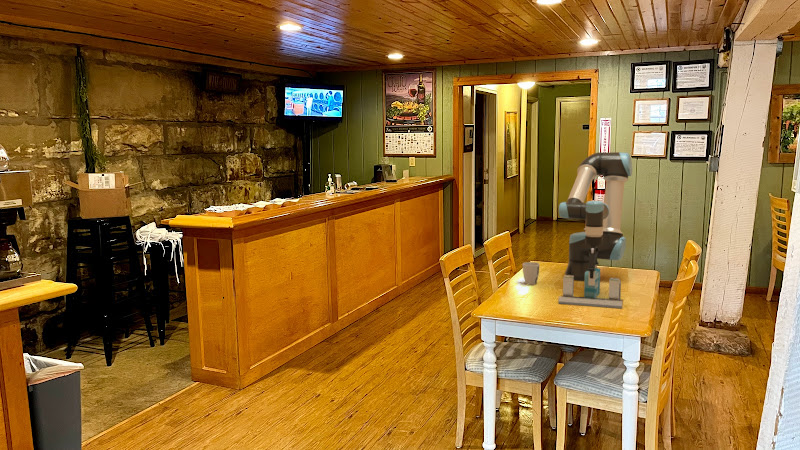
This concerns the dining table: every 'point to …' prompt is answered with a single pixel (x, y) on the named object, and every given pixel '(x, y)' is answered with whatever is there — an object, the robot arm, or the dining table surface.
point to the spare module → (619, 290)
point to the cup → (531, 272)
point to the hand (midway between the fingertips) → (592, 282)
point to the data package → (592, 290)
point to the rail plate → (586, 301)
